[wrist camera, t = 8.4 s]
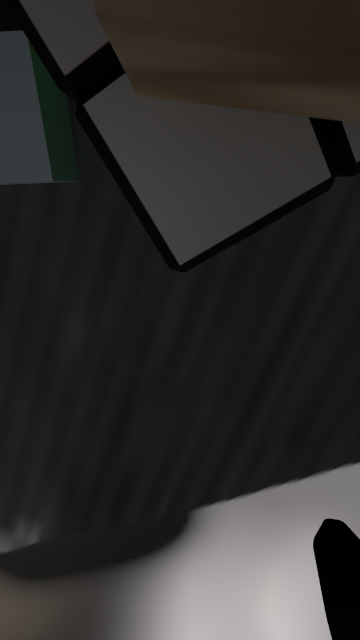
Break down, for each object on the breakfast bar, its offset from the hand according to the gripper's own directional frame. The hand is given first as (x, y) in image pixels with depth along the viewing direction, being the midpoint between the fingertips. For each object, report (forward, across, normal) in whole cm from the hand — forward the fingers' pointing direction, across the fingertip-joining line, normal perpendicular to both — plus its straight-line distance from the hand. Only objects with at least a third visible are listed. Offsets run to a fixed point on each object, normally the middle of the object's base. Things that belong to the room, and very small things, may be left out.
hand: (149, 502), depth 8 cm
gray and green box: (+13, +9, -8) cm, 18 cm away
